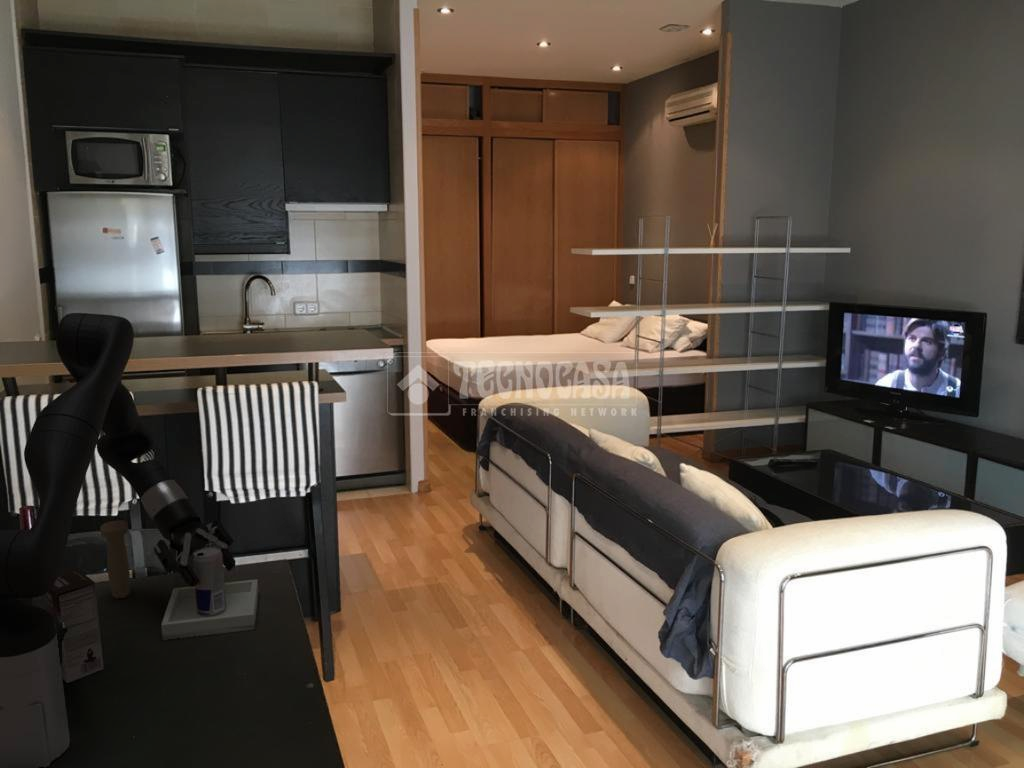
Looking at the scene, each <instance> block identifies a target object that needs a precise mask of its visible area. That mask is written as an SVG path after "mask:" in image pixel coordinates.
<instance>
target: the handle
mask: <svg viewBox="0 0 1024 768" xmlns="http://www.w3.org/2000/svg"><path fill="white" fill-rule="evenodd" d="M128 530H129V527H128V522H127V521H126V520H122V519H121V520H111V521H108V522H105V523H103V524H101V525H100V535H101V537H103V538H105V540H106V555H107V556H106V560H107V575H108V582H109V586H110V590H111V596H112V597H113V598H115V599H116V600H120V599H125V598H127V597H128V596H129V595H130V594H131V588H130V586H131V583H130V582H131V580H130V579H131V577H130V565H129V559H128V554H127V553H128V552H127V549H126V548H127V547H126V543H125V542H126V541H125V535H126V534H128ZM127 595H128V596H127ZM119 598H120V599H119Z"/></svg>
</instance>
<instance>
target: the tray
mask: <svg viewBox="0 0 1024 768" xmlns="http://www.w3.org/2000/svg"><path fill="white" fill-rule="evenodd" d="M258 584H259V583H258V579H257V578H256V579H248V580H239V581H230V582H225V594H226V609H225V610H224V612H222V613H220V614H218V615H215V616H202V615H200V614H199V613H198V612H197V604H196V593H195V586H194V587H191V586H185V587H184V586H183V587H173V589H172V592H171V594H170V598H169V600H168V605H167V606H166V609H165V613H164V617H163V618H162V621H161V625H160V626H161V638H162V641H169V639H171V640H177V638H180V639H188V638H195V637H194V636H196V637H203V636H212V635H218V634H219V635H220V634H228V633H236V632H244V631H252V630H255V628H256V619H257V609H258V601H259V598H258V597H259V585H258ZM187 637H188V638H187Z"/></svg>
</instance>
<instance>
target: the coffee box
mask: <svg viewBox="0 0 1024 768" xmlns="http://www.w3.org/2000/svg"><path fill="white" fill-rule="evenodd" d="M96 591H97V590H96V581H94V580H92V579H91V578H90V577H89V576H87V575H86V574H85V573H83V572H82V571H81V570H79V569H78V568H77V567H76V566H73V567H72V568H68V569H65V570H62V571H61V570H60V572H59V575H58V577H57V579H56V582H55V583H54V585H53V587H52V588H51V590H50V591H49V592H47V595H48V598H49V601H50V604H51V607H52V609H53V610H54V612H55V613H56V615H57V618H58V620H59V622H60V623H64V624H65V625H64V626H66V627H67V628H66V629H67V630H68V631H67V632H66V634H64V635H65V636H64V638H63V639H64V640H63V641H62V663H61V673H62V681H64V682H65V683H67V684H69V683H71V682H75V681H77V680H79V679H82V678H84V677H87V676H90V675H92V674H94V673H97V671H98V672H99V671H102V670H104V669H105V668H104V659H103V650H102V649H103V648H102V647H103V646H102V641H101V630H100V619H99V612H98V610H99V609H98V602H97V601H98V599H97V592H96Z"/></svg>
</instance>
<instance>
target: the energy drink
mask: <svg viewBox="0 0 1024 768" xmlns="http://www.w3.org/2000/svg"><path fill="white" fill-rule="evenodd" d="M224 568H225V567H224V564H223V556H222V552H221V549H220V548H219V547H218V548H217V547H205V548H201V549H198V550H196V551H195V552H194V553H193V554H192V570H193V571H194V573H195V574H196V576H197V577H198V579H199V583H198V584H197V585H196V586H195V593H196V604H197V612H198V613H199V614H200V615H202V616H215V615H218V614H220V613H222V612H224V610H225V609H226V594H225V583H226V582H225V581H226V580H225V572H224V570H225V569H224Z"/></svg>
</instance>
